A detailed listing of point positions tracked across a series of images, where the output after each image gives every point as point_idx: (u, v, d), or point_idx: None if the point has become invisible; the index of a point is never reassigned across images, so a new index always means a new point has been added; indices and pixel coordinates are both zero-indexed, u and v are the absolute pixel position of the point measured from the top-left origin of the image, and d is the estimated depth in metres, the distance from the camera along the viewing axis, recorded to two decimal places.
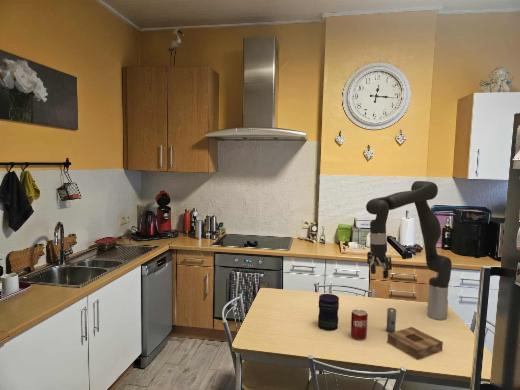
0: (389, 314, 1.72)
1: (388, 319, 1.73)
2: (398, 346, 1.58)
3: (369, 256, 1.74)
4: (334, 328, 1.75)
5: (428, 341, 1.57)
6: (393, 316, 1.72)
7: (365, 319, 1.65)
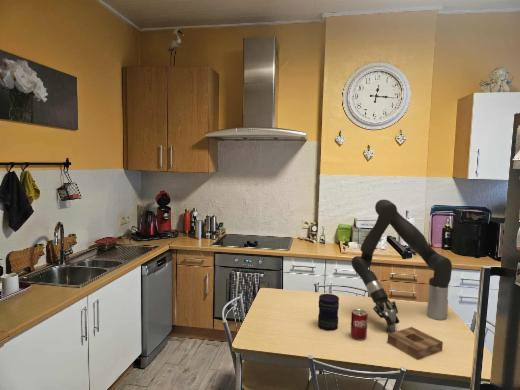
0: (389, 314, 1.72)
1: None
2: (398, 346, 1.58)
3: (391, 306, 1.80)
4: (334, 328, 1.75)
5: (428, 341, 1.57)
6: (393, 316, 1.72)
7: (365, 319, 1.65)
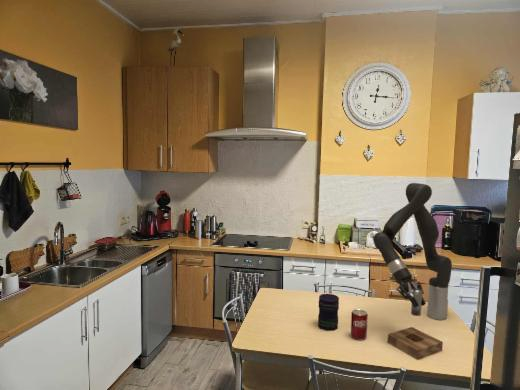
0: (415, 295, 1.57)
1: None
2: (398, 346, 1.58)
3: (416, 287, 1.64)
4: (334, 328, 1.75)
5: (428, 341, 1.57)
6: (419, 297, 1.56)
7: (365, 319, 1.65)
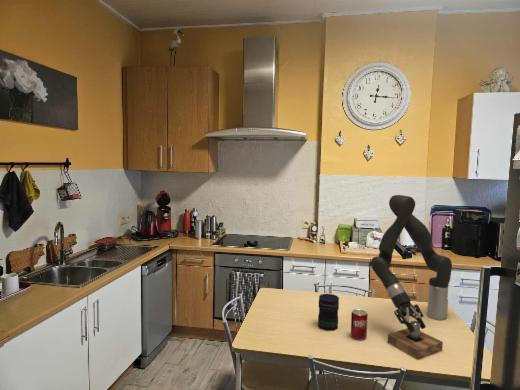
0: None
1: (411, 333, 1.59)
2: (398, 346, 1.58)
3: (414, 310, 1.66)
4: (334, 328, 1.75)
5: (428, 341, 1.57)
6: (417, 330, 1.58)
7: (365, 319, 1.65)
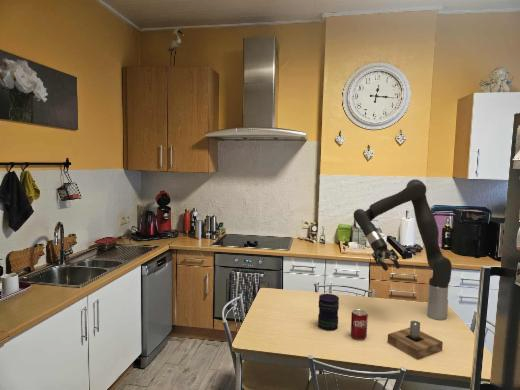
0: (413, 328, 1.58)
1: (411, 333, 1.59)
2: (398, 346, 1.58)
3: None
4: (334, 328, 1.75)
5: (428, 341, 1.57)
6: (417, 330, 1.58)
7: (365, 319, 1.65)
